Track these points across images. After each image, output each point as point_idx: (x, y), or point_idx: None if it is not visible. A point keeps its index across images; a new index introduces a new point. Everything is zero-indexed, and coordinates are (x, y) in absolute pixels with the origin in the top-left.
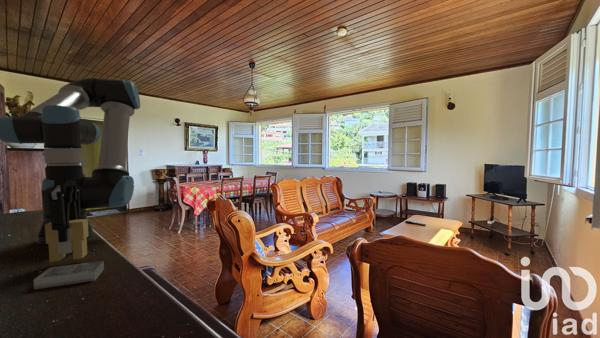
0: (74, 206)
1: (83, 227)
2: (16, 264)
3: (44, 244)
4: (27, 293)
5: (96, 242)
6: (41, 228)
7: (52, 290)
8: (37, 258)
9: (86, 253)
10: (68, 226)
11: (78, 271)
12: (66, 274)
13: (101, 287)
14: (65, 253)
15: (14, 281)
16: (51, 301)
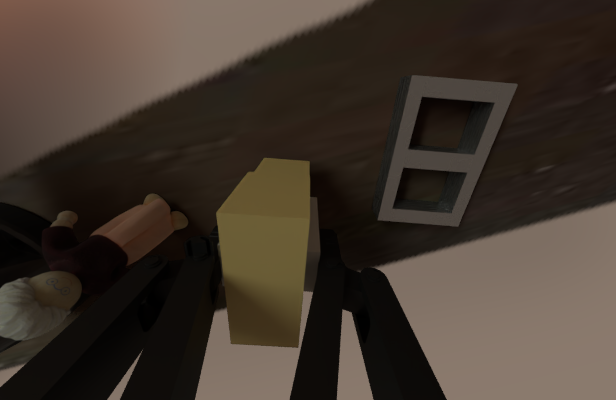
0: (182, 362)
1: (305, 200)
2: None
3: None
4: None
5: (70, 168)
6: None
7: (482, 176)
8: None
9: (272, 159)
10: (336, 263)
11: (410, 146)
12: (479, 163)
13: (573, 50)
14: (187, 224)
15: (359, 262)
16: (558, 159)
